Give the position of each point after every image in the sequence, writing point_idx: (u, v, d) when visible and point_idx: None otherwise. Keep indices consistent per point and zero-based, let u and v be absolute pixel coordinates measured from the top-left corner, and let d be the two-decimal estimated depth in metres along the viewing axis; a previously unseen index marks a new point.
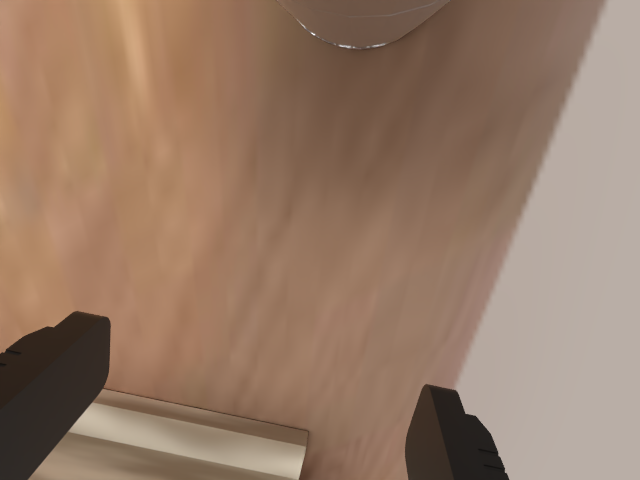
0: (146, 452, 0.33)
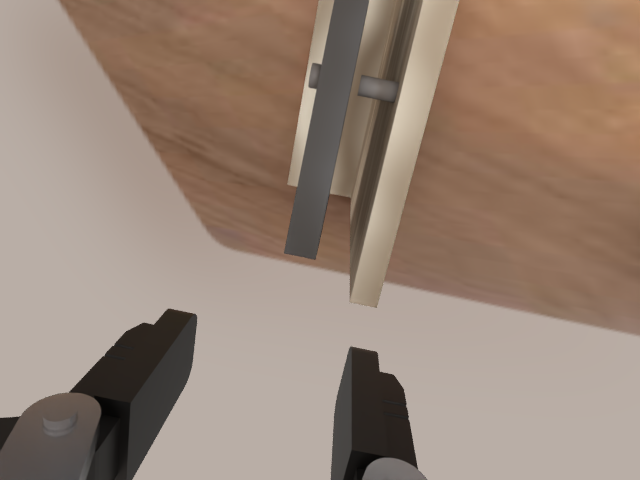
0: None
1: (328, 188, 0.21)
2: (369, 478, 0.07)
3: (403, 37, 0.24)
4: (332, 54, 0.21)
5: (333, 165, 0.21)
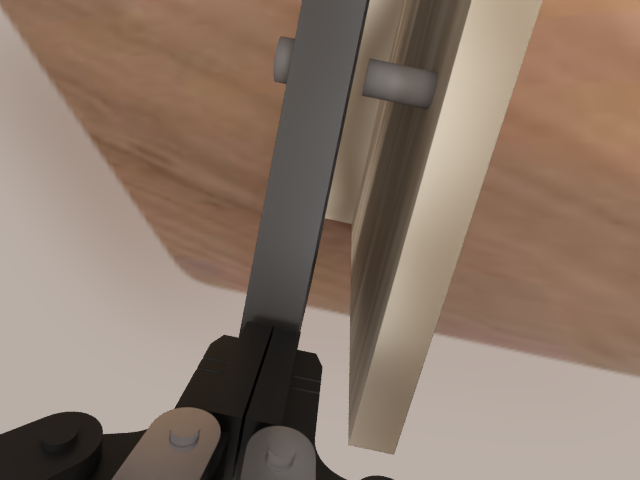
0: None
1: (309, 265, 0.12)
2: (253, 444, 0.07)
3: None
4: (315, 19, 0.11)
5: (318, 224, 0.12)
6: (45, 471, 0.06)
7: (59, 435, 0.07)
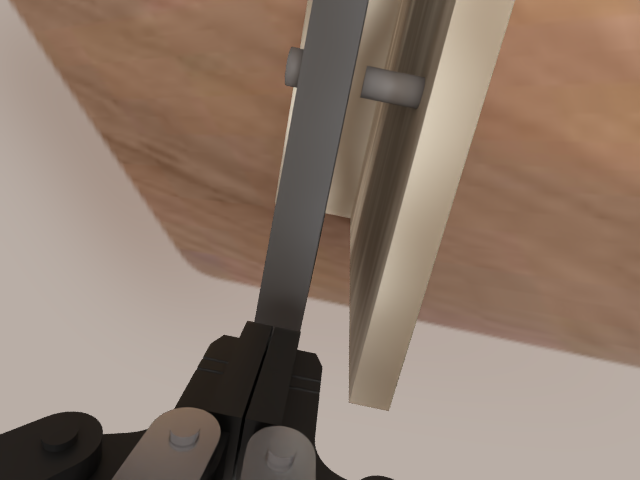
0: None
1: (315, 243, 0.14)
2: (253, 444, 0.07)
3: (427, 12, 0.16)
4: (320, 35, 0.13)
5: (323, 209, 0.14)
6: (45, 471, 0.06)
7: (59, 435, 0.07)
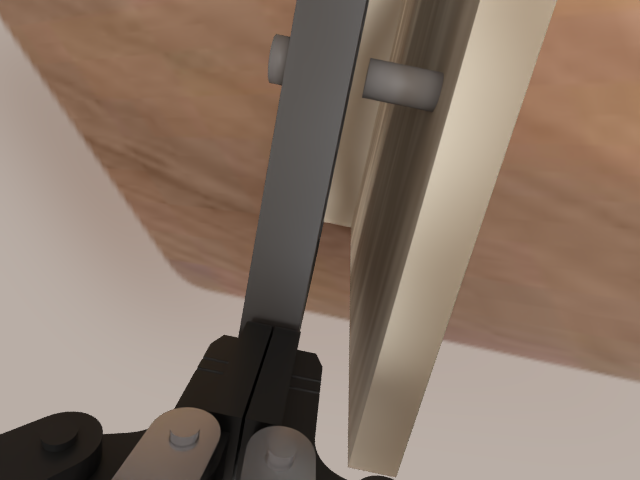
0: None
1: (306, 278, 0.11)
2: (253, 444, 0.07)
3: None
4: (311, 19, 0.10)
5: (315, 237, 0.11)
6: (45, 471, 0.06)
7: (59, 435, 0.07)
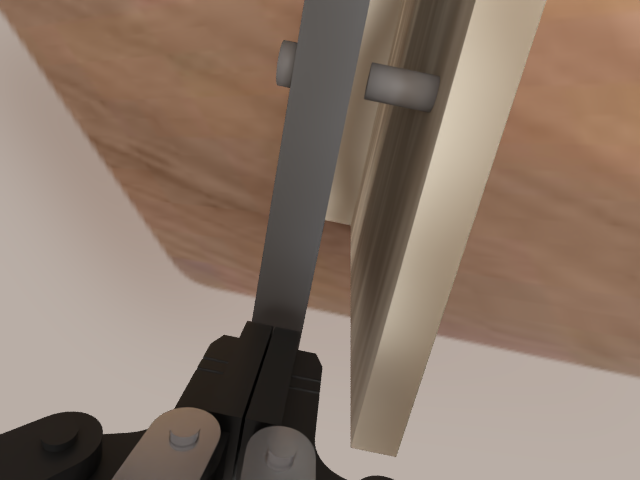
0: None
1: (312, 266, 0.13)
2: (253, 444, 0.07)
3: (439, 2, 0.14)
4: (316, 30, 0.11)
5: (320, 229, 0.12)
6: (45, 471, 0.06)
7: (59, 435, 0.07)
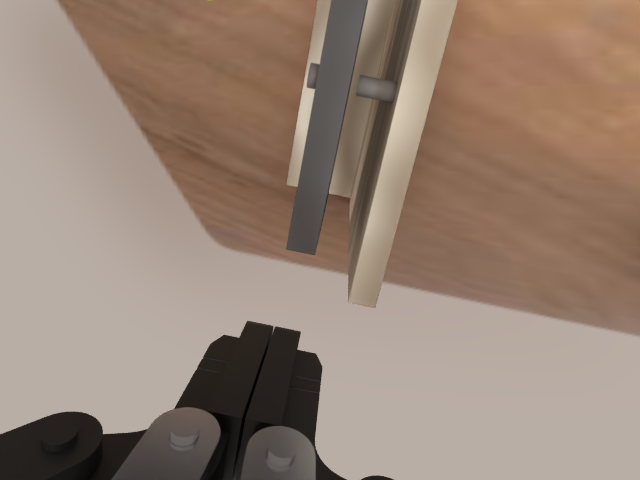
0: None
1: (326, 191, 0.22)
2: (253, 443, 0.07)
3: (402, 37, 0.24)
4: (329, 58, 0.20)
5: (331, 169, 0.22)
6: (44, 471, 0.06)
7: (59, 436, 0.07)
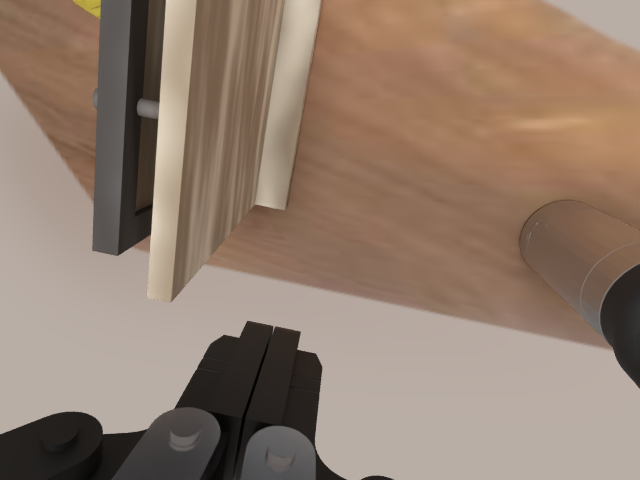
0: (270, 97, 0.45)
1: (119, 199, 0.25)
2: (253, 443, 0.07)
3: None
4: (105, 84, 0.23)
5: (120, 180, 0.25)
6: (45, 471, 0.06)
7: (58, 436, 0.07)
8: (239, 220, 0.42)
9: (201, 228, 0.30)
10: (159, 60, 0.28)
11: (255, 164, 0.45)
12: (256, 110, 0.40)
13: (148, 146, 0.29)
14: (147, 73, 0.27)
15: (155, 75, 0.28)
